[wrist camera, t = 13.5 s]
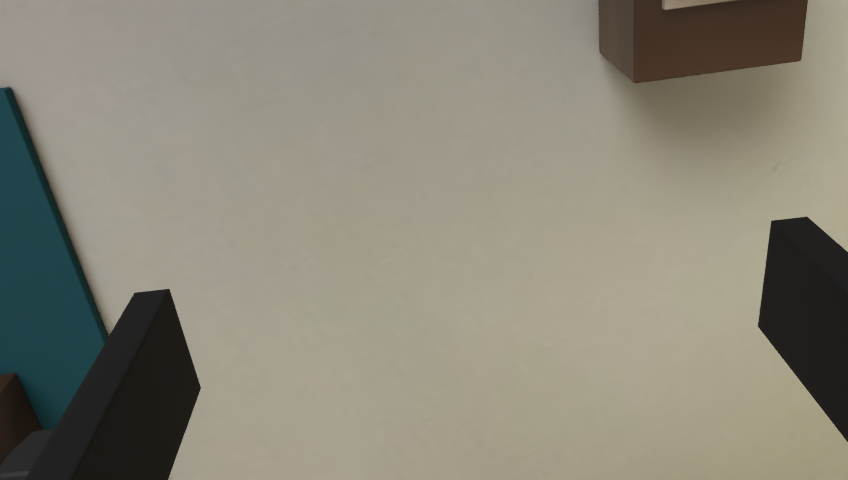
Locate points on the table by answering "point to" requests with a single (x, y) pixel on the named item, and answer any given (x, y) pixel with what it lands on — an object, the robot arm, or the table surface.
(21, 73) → the table surface
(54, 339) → the mat
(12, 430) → the tile
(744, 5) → the tile
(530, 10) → the table surface
